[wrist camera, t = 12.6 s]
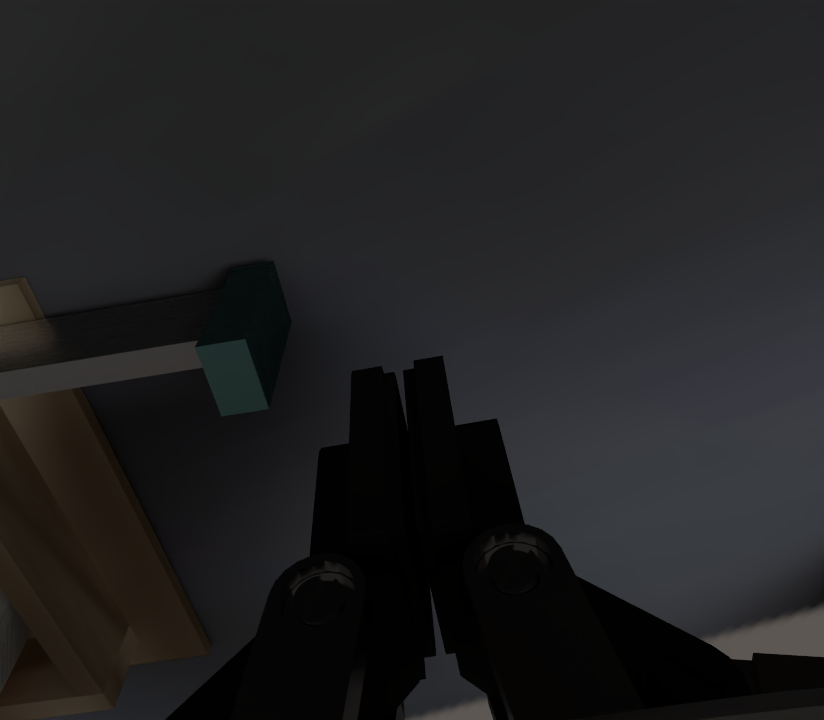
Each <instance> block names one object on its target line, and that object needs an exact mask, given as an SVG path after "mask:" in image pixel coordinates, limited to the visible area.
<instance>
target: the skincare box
mask: <svg viewBox="0 0 824 720" xmlns="http://www.w3.org/2000/svg"><path fill="white" fill-rule="evenodd" d="M30 633H31V631H30V629H29V628H28V627H27V625H26V624H25V622H24V621H23V619H22V618H21V617H20V615H19V614H18V612H17V611H16V610H15V608H14V607H13V605H12V604H11V603H10V601H9V600H8V598H7V597H6V595H5V594H4V593H3V591H2V590H1V588H0V693H1V691H2V689H3V687H4V685H5V683H6V681H7V679H8V677H9V675H10V673H11V671H12V669H13V667H14V665H15V663H16V661H17V659H18V657H19V655H20V653H21V651H22V649H23V647H24V645H25V643H26V641H27V639H28V637H29V635H30Z"/></svg>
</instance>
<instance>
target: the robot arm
mask: <svg viewBox="0 0 824 720" xmlns="http://www.w3.org/2000/svg"><path fill="white" fill-rule="evenodd" d="M403 375H404V387H405V399H406V412H407V424H408V430H407V426H406V421H405V417H404V412H403V408H402V403H401V398H400V394H399V389H398V385H397V380H396V376H395V373H394V372H391V373H385V374H384V372H383V369H382V367H381V366H380V367H374V368H368V369H362V370H356V371H352V375H351V403H350V433H349V443H348V444H342V445H337V446H331V447H325V448H321V449H320V451H319V457H318V468H317V479H316V491H315V502H314V513H313V524H312V535H311V547H310V557H307V558H305V559H303V560H300V561H298V562H296V563H295V564H293V565H292V566H291V567H289V568H288V569H286V570H285V571H284V572H283V573H282V574H281V576H280V577H279V578H278V579H277V580H276V581H275V583H274V585H273V587H272V589H271V591H270V593H269V595H268V599H267V602H266V605H265V608H264V611H263V614H262V618H261V621H260V624H259V627H258V630H257V634H256V636H255V637H254V638H253V639H252V640H251V641H250V642H249V643H248V644H247V645H246V646H245V647H243V648H242V649H241V650H240V651H239V652H238V653H237V654H236V655H235V656H234V657H233V658H232V659H230V660H229V661H228V662H227V663H226V664H225V665H224V666H223V667H222V668H221V669H220V670H219V671H217V672H216V673H215V674H214V675H213V676H212V677H211V678H210V679H209V680H208V681H207V682H206V683H204V684H203V685H202V686H201V687H200V688H199V689H198V690H197V691H196V692H195V693H194V694H193V695H191V696H190V697H189V698H188V699H187V700H186V701H185V702H184V703H183V704H182V705H181V706H179V707H178V708H177V709H176V710H175V711H174V712H173V713H172V714H171V715H170V716H169V717H168V718H166V719H165V720H405V713H404V703H403V701H404V699H405V698H406V697H407V696H408V695H409V694H410V692H411V691H412V690H413V689H414V688H415V687H416V685H417V684H418V683H419V682H420V681H419V680H422V679H426V675H425V662H424V658H425V657H432V656H436V647H435V637H434V626H433V615H432V605H431V594H430V588H431V592H432V596H433V601H434V605H435V609H436V613H437V618H438V622H439V626H440V631H441V635H442V639H443V643H444V648H445V652H446V654H452V653H456V657H457V662H458V666H459V671H460V675H461V676H462V677H463V678H465V679H466V680H467V681H469V682H470V683H472V684H473V685H475V686H476V687H478V688H479V689H480V690H482V691H483V692H485V693H486V694H487V698H488V703H489V707H490V710H491V713H492V716H493V720H824V657H810V656H796V655H795V656H794V655H779V654H763V653H753V657H752V661H751V660H736V659H735V660H734V659H730V658H729V657H728V656H727V655H725V654H724V653H722V652H721V651H720V650H718V649H717V648H715V647H714V646H712V645H710V644H708V643H706V642H704V641H702V640H700V639H698V638H696V637H695V636H693V635H691V634H689V633H687V632H685V631H683V630H681V629H679V628H677V627H675V626H673V625H671V624H669V623H667V622H665V621H663V620H661V619H659V618H657V617H655V616H654V615H652V614H650V613H648V612H646V611H644V610H642V609H640V608H638V607H636V606H634V605H632V604H630V603H628V602H626V601H624V600H622V599H620V598H618V597H616V596H615V595H613V594H611V593H609V592H607V591H605V590H603V589H601V588H599V587H597V586H595V585H593V584H591V583H589V582H587V581H585V580H583V579H581V578H579V577H577V576H576V575H575V573H574V571H573V569H572V567H571V565H570V564H569V562H568V560H567V558H566V556H565V554H564V552H563V550H562V548H561V547H560V545H559V544H558V543H557V542H556V540H555V539H554V538H553V537H552V536H551V535H549V534H548V533H546V532H545V531H543V530H542V529H539V528H536V527H533V526H530V525H526V524H525V523H524V520H523V516H522V512H521V508H520V504H519V500H518V497H517V493H516V489H515V485H514V481H513V478H512V474H511V470H510V466H509V462H508V458H507V455H506V451H505V447H504V443H503V439H502V435H501V432H500V428H499V424H498V421H497V419H491V420H485V421H479V422H473V423H468V424H462V425H456V426H455V424H454V418H453V412H452V407H451V401H450V395H449V389H448V384H447V378H446V372H445V366H444V361H443V356H438V357H432V358H426V359H420V360H414V369H409V370H403ZM429 583H430V584H429Z"/></svg>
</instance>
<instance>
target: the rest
mask: <svg viewBox="0 0 824 720" xmlns="http://www.w3.org/2000/svg"><path fill="white" fill-rule="evenodd" d="M42 319H46V317H45V315H44V313H43V311H42V309H41V307H40V305H39V303H38V301H37V299H36V298H35V296H34V294H33V292H32V290H31V288H30V286H29V284H28V282H27V280H26V278H25V277H21V278H15V279H9V280H3V281H0V326H6V325H12V324H18V323H24V322H30V321H36V320H42ZM0 588H1V590H2V591H3V593H4V594H5V595H6V597H7V598H8V600H9V601H10V603H11V604H12V605H13V607H14V608H15V610H16V611H17V612H18V614H19V615H20V617H21V618H22V619H23V621H24V622H25V624H26V625H27V627H28V628H29V629H30V631H31V633H30V635H29V637H28V639H27V641H26V643H25V645H24V647H23V649H22V651H21V653H20V655H19V657H18V659H17V661H16V663H15V665H14V667H13V669H12V671H11V673H10V675H9V677H8V679H7V681H6V683H5V685H4V687H3V689H2V691H1V693H0V720H33V719H41V718H49V717H57V716H65V715H73V714H80V713H88V712H96V711H104V710H112V709H114V707H115V704H116V702H117V699H118V696H119V693H120V690H121V688H122V685H123V682H124V679H125V676H126V674H127V671H128V668H129V665H137V664H145V663H152V662H160V661H167V660H175V659H183V658H190V657H198V656H205V655H209V651H210V647H211V644H210V642H209V640H208V638H207V636H206V634H205V632H204V630H203V628H202V626H201V624H200V622H199V620H198V618H197V616H196V614H195V612H194V610H193V608H192V606H191V604H190V602H189V600H188V598H187V596H186V594H185V592H184V590H183V588H182V586H181V584H180V582H179V580H178V578H177V576H176V574H175V572H174V570H173V568H172V566H171V564H170V563H169V561H168V559H167V557H166V555H165V553H164V551H163V549H162V547H161V545H160V543H159V541H158V539H157V537H156V535H155V533H154V531H153V529H152V527H151V525H150V523H149V521H148V519H147V517H146V515H145V513H144V511H143V509H142V507H141V505H140V503H139V501H138V499H137V497H136V495H135V493H134V491H133V489H132V487H131V485H130V483H129V481H128V479H127V477H126V476H125V474H124V472H123V470H122V468H121V466H120V464H119V462H118V460H117V458H116V456H115V454H114V452H113V450H112V448H111V446H110V444H109V442H108V440H107V438H106V436H105V434H104V432H103V430H102V428H101V426H100V424H99V422H98V420H97V418H96V416H95V414H94V412H93V410H92V408H91V406H90V404H89V402H88V400H87V398H86V396H85V394H84V392H83V390H82V388H81V387H79V388H72V389H66V390H60V391H54V392H48V393H41V394H35V395H29V396H23V397H16V398H10V399H4V400H0Z"/></svg>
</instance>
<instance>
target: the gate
mask: <svg viewBox="0 0 824 720" xmlns="http://www.w3.org/2000/svg"><path fill="white" fill-rule="evenodd" d="M291 322H292V321H291V318H290V314H289V311H288V308H287V304H286V301H285V298H284V294H283V291H282V287H281V284H280V281H279V277H278V274H277V271H276V267H275V264H274V261H269V262H263V263H257V264H251V265H245V266H239V267H234V268H232V270H231V272H230V274H229V277H228V279H227V281H226V283H225V285H224V287H223V289H220V290H214V291H209V292H203V293H197V294H191V295H185V296H179V297H173V298H167V299H161V300H155V301H149V302H143V303H137V304H131V305H125V306H119V307H113V308H107V309H101V310H95V311H89V312H83V313H77V314H71V315H65V316H59V317H54V318H48V319H42V320H36V321H30V322H24V323H18V324H12V325H6V326H0V400H4V399H10V398H16V397H23V396H29V395H35V394H41V393H48V392H54V391H60V390H66V389H72V388H79V387H85V386H91V385H97V384H104V383H110V382H116V381H122V380H129V379H135V378H141V377H147V376H154V375H160V374H166V373H172V372H178V371H185V370H191V369H197V368H203V370H204V372H205V375H206V378H207V380H208V383H209V385H210V388H211V391H212V393H213V396H214V398H215V401H216V403H217V406H218V409H219V411H220V414H221V416H227V415H234V414H240V413H247V412H253V411H259V410H266V409H269V407H270V403H271V399H272V396H273V392H274V388H275V384H276V380H277V376H278V372H279V369H280V365H281V361H282V357H283V353H284V349H285V345H286V342H287V338H288V334H289V330H290V326H291Z"/></svg>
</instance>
